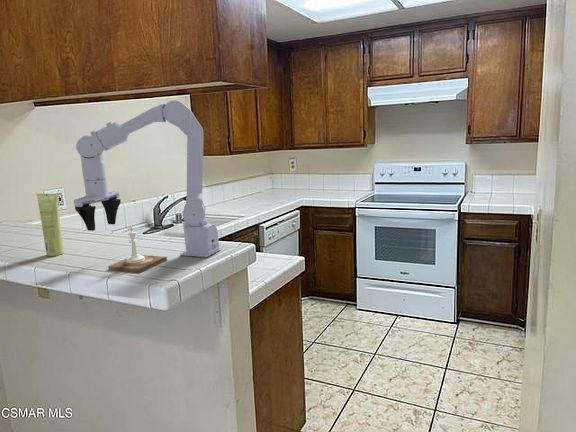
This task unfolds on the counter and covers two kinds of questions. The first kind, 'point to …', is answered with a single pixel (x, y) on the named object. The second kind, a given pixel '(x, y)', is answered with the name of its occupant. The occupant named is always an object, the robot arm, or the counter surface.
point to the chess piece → (134, 249)
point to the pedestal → (138, 264)
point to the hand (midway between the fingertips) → (101, 227)
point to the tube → (50, 224)
